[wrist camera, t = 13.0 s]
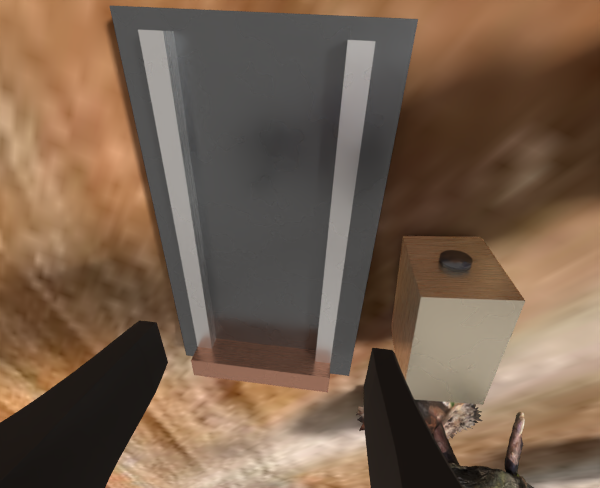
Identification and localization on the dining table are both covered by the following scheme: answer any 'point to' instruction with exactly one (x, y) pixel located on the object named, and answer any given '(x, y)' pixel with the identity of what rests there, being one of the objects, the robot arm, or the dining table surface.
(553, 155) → the dining table surface
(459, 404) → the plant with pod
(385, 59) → the rail guide
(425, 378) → the block
